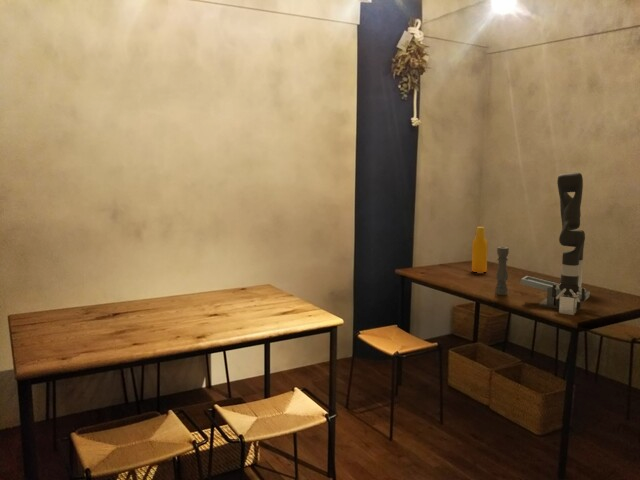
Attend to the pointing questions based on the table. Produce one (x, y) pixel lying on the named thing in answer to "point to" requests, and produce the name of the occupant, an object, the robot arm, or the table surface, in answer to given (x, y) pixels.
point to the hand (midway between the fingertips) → (567, 308)
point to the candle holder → (502, 271)
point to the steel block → (567, 304)
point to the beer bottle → (479, 251)
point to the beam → (544, 285)
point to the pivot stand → (549, 300)
